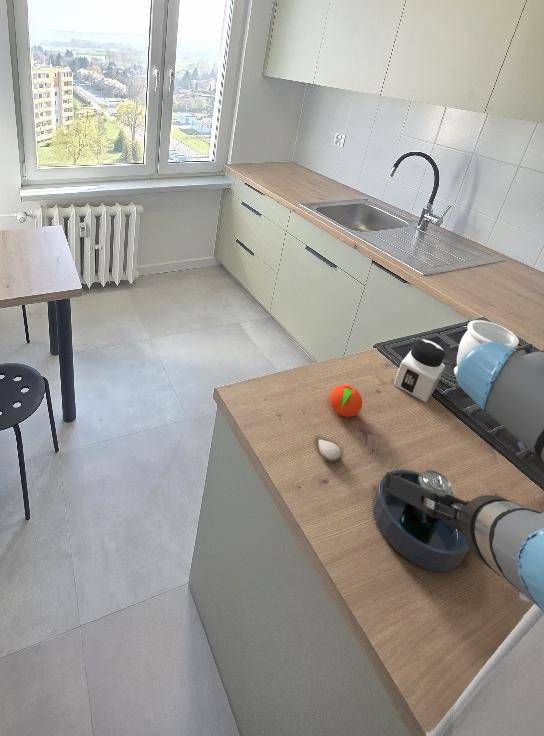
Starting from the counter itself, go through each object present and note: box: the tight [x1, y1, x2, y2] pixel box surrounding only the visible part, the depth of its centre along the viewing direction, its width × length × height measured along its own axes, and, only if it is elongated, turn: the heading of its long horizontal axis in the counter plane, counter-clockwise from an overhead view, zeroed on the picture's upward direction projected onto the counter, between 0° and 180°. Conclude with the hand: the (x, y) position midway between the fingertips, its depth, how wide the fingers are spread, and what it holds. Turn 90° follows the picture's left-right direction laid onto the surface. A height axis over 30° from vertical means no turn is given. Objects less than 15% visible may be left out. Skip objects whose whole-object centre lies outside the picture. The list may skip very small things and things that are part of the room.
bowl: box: [372, 469, 470, 573], centre depth 74 cm, size 14×14×6 cm
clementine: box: [329, 383, 363, 418], centre depth 96 cm, size 8×7×7 cm
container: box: [393, 339, 446, 403], centre depth 104 cm, size 8×8×13 cm
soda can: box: [401, 469, 454, 539], centre depth 72 cm, size 5×5×12 cm
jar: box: [453, 319, 520, 376], centre depth 107 cm, size 11×10×15 cm
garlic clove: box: [318, 438, 342, 462], centre depth 87 cm, size 4×5×2 cm
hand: (450, 504), depth 62 cm, fingers open, 13 cm apart
